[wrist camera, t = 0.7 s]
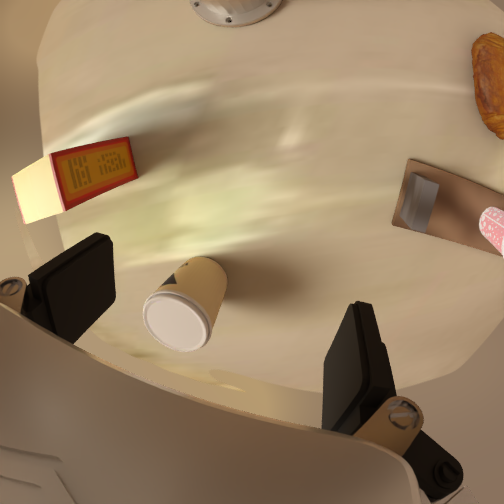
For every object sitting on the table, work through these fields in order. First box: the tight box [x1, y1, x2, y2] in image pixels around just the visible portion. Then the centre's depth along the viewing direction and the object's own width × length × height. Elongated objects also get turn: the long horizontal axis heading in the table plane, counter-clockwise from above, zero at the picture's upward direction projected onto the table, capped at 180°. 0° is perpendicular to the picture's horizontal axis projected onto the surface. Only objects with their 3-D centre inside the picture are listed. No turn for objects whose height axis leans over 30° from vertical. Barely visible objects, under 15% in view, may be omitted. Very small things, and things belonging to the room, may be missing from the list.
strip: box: [392, 159, 504, 257], centre depth 30 cm, size 9×22×6 cm, turn 83°
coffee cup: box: [143, 257, 228, 352], centre depth 40 cm, size 9×9×12 cm
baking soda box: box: [11, 137, 138, 224], centre depth 33 cm, size 10×6×16 cm
